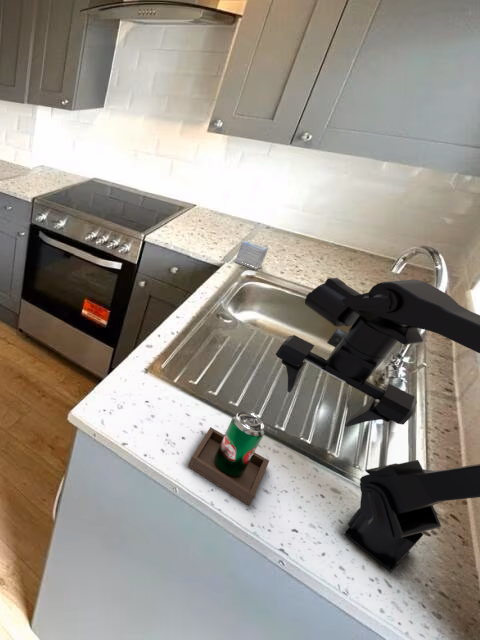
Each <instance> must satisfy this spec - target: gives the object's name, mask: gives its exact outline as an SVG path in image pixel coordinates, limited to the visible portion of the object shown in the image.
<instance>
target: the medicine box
mask: <svg viewBox="0 0 480 640" xmlns="http://www.w3.org/2000/svg"><path fill="white" fill-rule="evenodd" d="M268 251H269V247H268V246H265V245H262V244H260V243H257V242H254V241H251V240H249V239H247V240H245V241H242V242H241V244H240V247H239V249H238V252H237V254H236V257H235V259H234V263H237V264H239V265H242V266H245V267H247V268H249V269H252V270H255V271H256V270H258V269H260V268H261V267H262V266H263V263H264V260H265V258H266V255H267V253H268ZM242 262H243V263H242ZM245 263H246V264H245ZM247 264H249V265H247ZM250 265H252V266H254V267H252V266H250ZM259 266H260V267H259ZM255 267H258V268H255Z"/></svg>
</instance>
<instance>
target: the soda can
mask: <svg viewBox="0 0 480 640" xmlns="http://www.w3.org/2000/svg"><path fill="white" fill-rule="evenodd" d="M223 435H224V437H223V439H222V442H221V444H220V446H219V448H218V450H217V452H216V454H215V457H214V460H215V463H216V465H217V466H218V468H219V469H220V470H221V471H222V472H224V473H226V474H228V475H230V476H241V475H243V473H244V471H245V470H246V468H247V466H248V464H249V462H250V460H251V458H252V456H253V454H254V452H255V453H256V451H257V448H258V447H259V445H260V443H261V441H262V439H263V437H264V435H265V424H264V423H263V421H262V420H261V419H260V417H257V416H256V415H255V414H252V413H250V412H246V411H239V412H238V413H236V414H234V415H233V417H232V418H231V420H230V422H229V424H228V427H227V428H226V431H225V433H224V434H223Z"/></svg>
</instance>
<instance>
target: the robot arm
mask: <svg viewBox="0 0 480 640" xmlns="http://www.w3.org/2000/svg"><path fill="white" fill-rule="evenodd" d="M304 305H305V306H306V307H308V308H309V309H311V310H312V311H313V312H315V313H316V314H317V315H319V316H320V317H321V318H323V319H324V320H325V321H327V322H328V323H330V324H331V325H333V326H334V327H337V328H336V329H335V330H334V332H333V333H332V335H331V337H329V339H328V340H327V342H326V343H327V344H328V345H330V346H331V347H333V350H332V351H331V352H330V354H329V355H328V358H327V359H326V358H323V357H321V356H320V355H318V354H316V353H314V352H313V351H312V350H313V349H314V347H315V344H313V343H310V342H309V341H307V340H305V339H303V338H301V337H299V336H297V335H296V334H292V335H289V336H288V337H287V338H286V339H285V340H284V341H283V342H282V344H281V345H280V347H279V348H278V349H277V351H276V353H275V356H276V357H277V358H278V359H280V360H281V361H280V363H281V364H282V365H284V366H285V367H286V374H287V393H291V392H292V391H293V389H294V388H295V386H296V385H297V383H298V381H299V379H300V376H301V374H302V372H303V370H304V367H305V366H306V364H309V365H311V366H312V367H314V368H316V369H318V370H319V371H322V372H323V373H325V374H327V375H329V376H331V377H333V378H334V379H336V380H338V381H340V382H342V383H344V384H346V385H349V386H351V387H352V388H354V389H356V390H358V391H359V392H361V393H363V394H364V395H367V396H369V397H371V398H370V400H369V401H367V402H366V403H365V404H364V405H363V406H362V407H361V408H360V409H358V410H357V411H356V412H355V413H353V414H352V415H351V416H350V417H349V419H347V421H346V422H345V423H344V426H345V427H346V428H348V427H352V426H355V425H358V424H362V423H366V422H373V421H380V420H382V421H384V422H386V423H390V422H394V423H396V424H397V425H403V426H404V425H405V424H406V423H407V421H409V419H410V418H411V417H412V416H413V415H414V412H415V408H416V406H417V404H418V401H417V399H416V396H415V395H412V394H411V393H409V392H406V391H404V390H403V389H400V388H399V387H397V386H395V385H393V384H391V383H388V384H386V385H385V386H384V387H383V388H381V387H379V386H378V385H375V384H374V383H371V382H369V381H368V380H369V378H370V377H371V376H372V375H373V373H374V372H375V371H376V370H377V369H378V367H379V366H380V365H381V364H382V363H383V361H384V360H385V359H386V358H387V356H389V354H390V353H391V352H392V350H393V349H394V348H395V347H396V346H397V344H399V343H400V344H402V345H404V346H406V345H408V346H409V345H414V344H422V343H423V342H424V339H423V337H422V334H421V333H420V332H419V330H418V329H420V330H424V331H428V332H431V333H434V334H437V335H440V336H441V337H444V338H446V339H448V340H451V341H452V342H455V343H456V344H459V345H461V346H462V347H465V348H467V349H469V350H471V351H474V352H476V353H477V354H480V314H478V313H476V312H473V311H471V310H469V309H467V308H466V307H464V306H462V305H461V304H459V303H458V302H456V300H455V299H454V298H453V297H451V296H450V295H449V294H447V293H446V292H444V291H442V290H440V289H439V288H437V287H435V286H433V285H432V284H430V283H429V282H426V281H424V280H419V279H401V280H389V281H388V280H387V281H382V282H377V283H376V284H375V285H372V287H371V288H370V290H368V292H364V293H360V292H359V291H357V290H356V289H354V288H352V287H350V286H349V285H347V284H346V282H344V281H343V280H341V279H340V278H338V277H329V278H326V280H325V281H324V283H321V284H320V285H318V286H316V287H315V288H313V290H311V291H309V292H308V293H307V295H306V296H305V298H304ZM343 326H344V327H350V328H349V330H348V331H345V330H343V329H340V328H339V327H343ZM365 472H366V474H365V475H362V476H361V477H360V478H359V488H360V489H359V490H360V492H361V493H360V503H359V508H358V509H357V510H356V511H355V513H353V515H352V517H351V518H350V519H349V521H348V522H347V526H348V528H347V529H346V530H345V531H344V532H343V533H344V536H345V537H346V538H348V539H349V540H350V541H351V542H353V543H354V544H355V545H356V546H357V547H359V548H360V549H361V550H363V551H364V553H366V554H367V555H369V556H370V557H371V558H372V559H374V560H375V561H376V562H377V563H379V564H380V565H381V566H382V567H383V568H385V569H386V570H387V571H389V572H393V571H394V570H395V569H396V568H397V567H398V565H400V564H401V562H403V560H404V559H405V558H406V557H407V556H408V555H409V553H410V551H411V549H412V548H414V546H415V545H416V544H417V543H418V542H419V540H420V539H421V538H422V537H423V536H424V533H425V532H428V531H432V530H435V529H439V528H441V527H442V524H441V522H440V519H439V517H438V515H437V511H436V509H435V507H434V506H435V505H439V504H442V503H444V502H447V501H456V500H466V499H467V500H468V499H473V498H474V499H476V498H480V463H477V464H470V465H464V466H457V467H451V468H446V469H439V470H430V469H424V468H423V467H422V465H421V463H420V461H419V460H418V459H414V460H411V461H406V462H401V463H392V464H387V465H382V466H378V467H372V468H368V469H365Z"/></svg>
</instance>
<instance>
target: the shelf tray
mask: <svg viewBox="0 0 480 640" xmlns="http://www.w3.org/2000/svg"><path fill="white" fill-rule="evenodd" d="M224 435H225V434H223V433H222V432H221V431H218V430H216V429H215V428H213V427H211V426H210V427H209V428H208V430H207V432H206V433H205V435H204V436H203V438H202V439H201V441H200V443H199V444H198V446H197V447H196V450H194V452H193V454H192V456H191V458H190V460H189V462H188V464H187V467H188V468H189V469H191V470H193V471H194V472H196V473H198V474H199V475H201V476H202V477H204V478H205V479H207V480H209V481H210V482H211V483H213V484H214V485H216V486H218V487H219V488H221V489H222V490H224V491H226V492H227V493H228V494H230V495H232V496H233V497H234V498H236V499H238V500H239V501H241V502H242V503H244V504H246V505H247V506H250V505H251V503H252V501H253V500H254V498H255V496H256V494H257V491H258V489H259V487H260V484H261V482H262V479H263V477H264V475H265V472H266V469H267V467H268V465H269V463H270V460H269V459H267V458H265V457H264V456H262V455H260V454H259V453H256V451H255V452H254V454H253V456H252V458H251V460H250V462H249V464H248V466H247V468H246V470H245V471H244V473H243V475H241V476H230V475H228V474H226V473H224V472H222V471H221V470H220V469H219V468H218V466H217V465H216V463H215V460H214V457H215V454H216V452H217V450H218V448H219V446H220V444H221V442H222V439H223V437H224Z"/></svg>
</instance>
